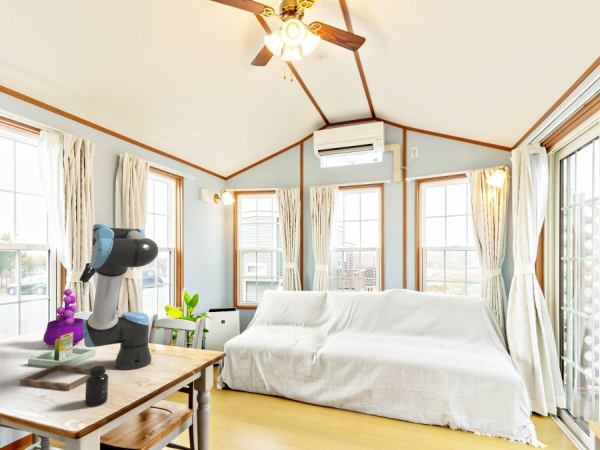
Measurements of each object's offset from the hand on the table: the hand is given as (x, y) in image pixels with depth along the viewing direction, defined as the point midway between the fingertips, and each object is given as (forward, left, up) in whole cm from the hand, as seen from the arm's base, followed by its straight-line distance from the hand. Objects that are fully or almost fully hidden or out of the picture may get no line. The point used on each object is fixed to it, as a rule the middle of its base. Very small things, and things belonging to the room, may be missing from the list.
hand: (97, 295), depth 169 cm
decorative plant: (+26, -8, -29) cm, 39 cm away
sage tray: (+6, +12, -29) cm, 32 cm away
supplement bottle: (-40, +44, -29) cm, 66 cm away
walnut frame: (-12, +30, -29) cm, 43 cm away
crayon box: (+6, +12, -28) cm, 31 cm away
